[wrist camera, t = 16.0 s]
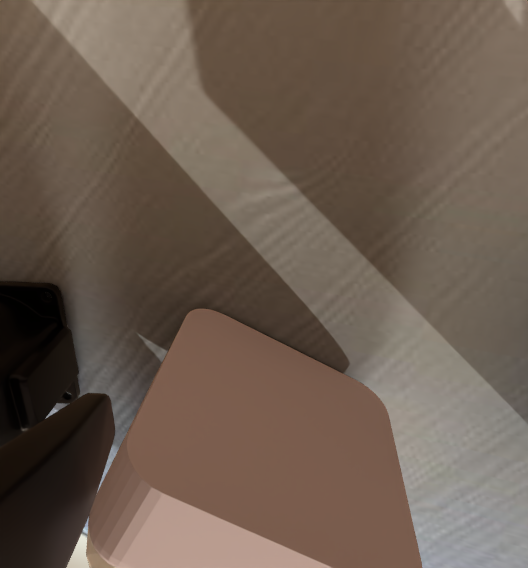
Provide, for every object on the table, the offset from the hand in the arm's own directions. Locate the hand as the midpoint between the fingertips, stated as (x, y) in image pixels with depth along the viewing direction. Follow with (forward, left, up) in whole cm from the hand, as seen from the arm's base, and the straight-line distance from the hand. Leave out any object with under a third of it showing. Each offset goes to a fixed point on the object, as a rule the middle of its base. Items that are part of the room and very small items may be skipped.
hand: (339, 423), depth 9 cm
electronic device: (-2, -8, -12) cm, 14 cm away
